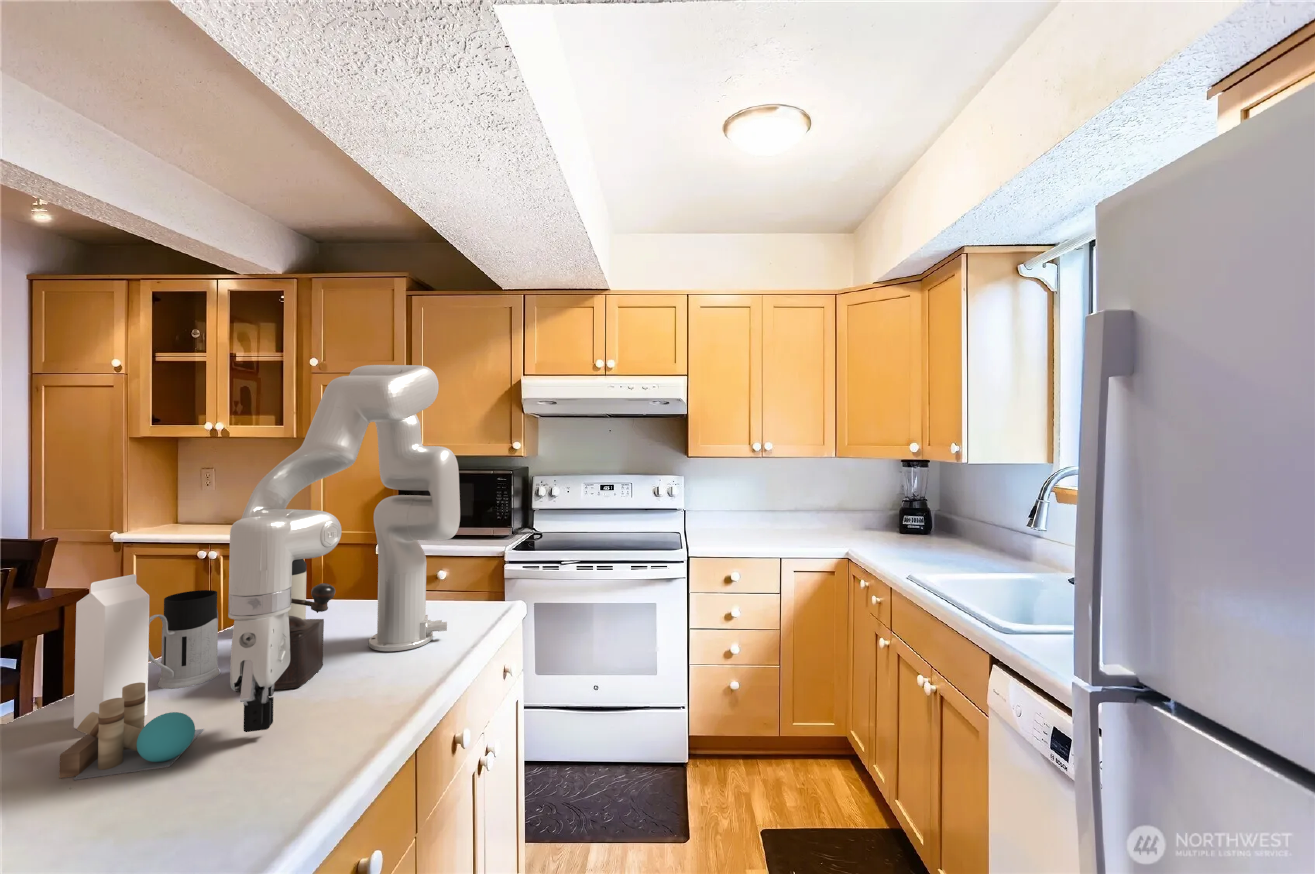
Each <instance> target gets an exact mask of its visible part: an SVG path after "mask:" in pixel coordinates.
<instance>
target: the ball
mask: <svg viewBox="0 0 1315 874" xmlns="http://www.w3.org/2000/svg"><path fill="white" fill-rule="evenodd" d="M195 730H196V726H195V722H194V721H193V719H192V718H191V717H190V716H189V715H187V714H186V713H183V712H176V711H174V712H173V711H171V712H165V713H163V714H160V715H158V716H156V717H154V718H153V719H151V720H150V721H149V722H147V723H146V724H145V725H144V728H143V729H142V730H141V732H140V734H139V736H138V739H137V750H138V753H139V754H140V756H141V757H142V758H144V759H145V760H148V761H151V762H163V761H167V760H170V759H173V758H175V757H176V756H178V755H180V754H181V753H182V752H183V751H184V752H185V751H186V750H187V749H188V748H189V747H188V746H189V745H190V743H191V742H192V740H193V738H194V734H195ZM192 743H193V742H192ZM192 743H191V744H192ZM190 746H191V745H190ZM187 747H188V748H187ZM184 752H183V753H184ZM183 753H182V754H183ZM182 754H181V755H182ZM181 755H180V756H181Z"/></svg>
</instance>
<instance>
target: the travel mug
mask: <svg viewBox="0 0 1315 874" xmlns="http://www.w3.org/2000/svg"><path fill="white" fill-rule="evenodd" d="M291 598H294V599H299V600H306V601H307V562H306V561H305V559H297V560H294V561H293V562H292V591H291ZM306 608H307V606H306V605H299V604H293V603H291V609H290V610H289V611H288V616H295V617H299V618H301V619H307V618H306V617H307V616H306V613H307V609H306Z"/></svg>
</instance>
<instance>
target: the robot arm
mask: <svg viewBox="0 0 1315 874" xmlns="http://www.w3.org/2000/svg"><path fill="white" fill-rule="evenodd" d="M439 386H440V385H439V379H438V377H437V374H436V373H435V372H434V371H433V370H432V369H431V368H430V367H428V366H426V365H415V364H414V365H412V364H410V365H409V364H408V365H407V364H405V365H403V364H397V365H396V364H371V365H370V364H367V365H362V366H358V367H356V368H353V369H352V370H351V371H350V373H349V375H342V376H339V377H335V378H334V379H331V381H330V382H329V383H328V384H327V386H326V387H325V389H324V392H323V395H322V396H321V399H320V401H319V403H318V406H317V408H316V411H315V414H314V416H313V418H312V421H311V423H310V425H309V428H308V429H307V432H306V435H305V438H304V440H303V442H302V443H301V446H300V447H299V448H298V449H297V450H295V451H294V452H293V453H291V454H289V455H288V456H287V457H285V458H284V459H283V460H281V461H280V462H279V463H278V464H277V465H276V466H275V467H273V468H272V469H271V470H270V471H269V472H267V474H265V476H263V478H261V480H260V481H259V482H258V483H257V484H256V486H255V487H254V489H253V491H252V492H251V494H250V496H249V499H248V500H247V503H246V506H245V508H244V510H243V513H242V516H241V519H238V520H236V521H235V522H234V523H233V524H232V525H231V527H230V531H229V558H228V559H229V566H228V571H229V572H228V573H229V575H228V576H229V577H228V614H227V615H228V616H227V617H228V618H229V619H231V620H234V622H233V628H232V639H231V650H230V663H229V664H230V665H229V666H230V668H229V670H230V673H229V678H230V688H231V690H232V691H234V692H236V691H238V690H239V689H240V688H241V692H240V697H239V701H240V703H243V732H244V733H249V732H251V733H252V732H258V731H265V730H269V728H270V727H271V726H272V725H273V723H274V700H275V699H274V692H275V690H274V683H275V682H276V681H277V680H278V678H279V677H280V676H281V675H282V674H283V672H284V671H285V670H286V669H287V667H288V666H289V663H290V631H289V616H288V611H289V610H290V609H291V591H292V562H293V561H294V560H297V559H304V560H305V559H315V558H319V557H322V556H325V555H327V554H329V553H330V552H332V551H333V550H334V549H335V548H336V547H337V546H338V544H339V542H340V540H341V537H342V525H341V523H340V520H339V519H338V518H337V516H335V515H333V514H332V513H330V512H327V511H324V510H317V509H316V510H315V509H293V508H291V509H290V508H288V509H287V507H288V505H289V503H290V502H291V500H292V499H293V498H294V497H295V496H296V495H297V494H298V493H299V492H300V491H302V490H303V489H305V488H306V487H308V486H310V485H311V484H313V483H316V482H317V481H320V480H322V479H325V478H328V477H330V476H333V475H334V474H335V475H336V474H337V473H339V472H342V471H344V470H346V469H348V468H350V467H352V466H353V465H354V464H355V462H356V461H357V458H358V455H359V452H360V449H361V447H362V444H363V441H364V438H365V435H366V432H367V429H368V427H369V425H370V423H374V424H375V427H376V434H377V446H378V447H377V449H378V450H377V451H378V466H379V467H378V468H379V470H378V471H379V477H380V481H381V483H382V485H383V486H385V488H387V489H392V490H396V491H397V490H399V491H428V492H429V494H430V495H419V494H417V495H415V494H414V495H411V494H409V495H407V494H406V495H405V494H399V495H396V494H395V495H391V496H388V497H385V498H383V499H382V500H381V501H380V502H378V504H377V505H376V507H375V508H374V511H373V526H374V530H375V531H374V532H375V535H376V542H377V550H378V551H377V553H378V555H377V556H378V557H377V558H378V559H377V560H378V562H377V563H378V565H377V566H378V567H377V569H378V570H377V573H378V574H377V581H378V582H377V618H376V619H377V622H376V623H377V625H376V626H377V627H376V629H377V631H376V633H375V634H374V635H371V637H369V639H368V646H369V648H370V649H372V650H374V651H379V652H401V651H406V650H411V649H417V648H419V647H423V646H425V645H427V644H428V643H430V642H431V641H432V640H433V638H434V637H433V636H434V633H433V632H447V631H448V621H442V620H443V619H439V620H438V619H437V620H431V619H429V614H426V609H427V608H426V606H427V604H426V603H427V602H426V601H427V557H426V554H425V551H424V548H423V547H422V546H421V544H420V543H419V541H446V540H450V539H452V538H453V537H454V536H456V534H457V533H458V530H459V527H460V522H461V500H460V499H461V497H460V495H461V493H460V472H459V463H458V460H457V457H456V455H455V453H453V452H454V451H452V450H451V449H450V448H447V447H446V446H441V445H440V446H437V445H435V446H434V445H423V442H422V441H423V440H422V430H421V428H422V427H421V422H420V419H419V417H418V413H420V412H422V411H424V410H426V409H427V408H429V407H431V406H432V405H433V403H434V402H435V401H436V399H437V397H438V393H439V388H440V387H439Z"/></svg>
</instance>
